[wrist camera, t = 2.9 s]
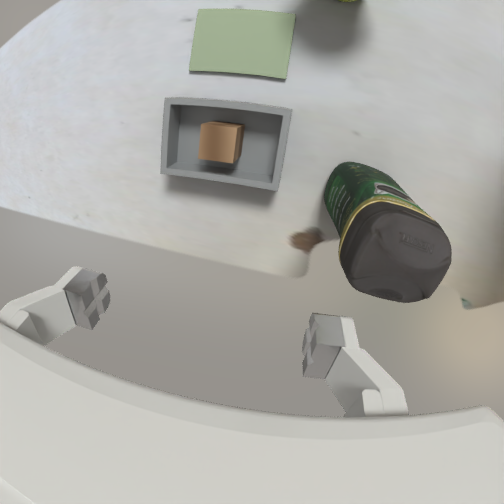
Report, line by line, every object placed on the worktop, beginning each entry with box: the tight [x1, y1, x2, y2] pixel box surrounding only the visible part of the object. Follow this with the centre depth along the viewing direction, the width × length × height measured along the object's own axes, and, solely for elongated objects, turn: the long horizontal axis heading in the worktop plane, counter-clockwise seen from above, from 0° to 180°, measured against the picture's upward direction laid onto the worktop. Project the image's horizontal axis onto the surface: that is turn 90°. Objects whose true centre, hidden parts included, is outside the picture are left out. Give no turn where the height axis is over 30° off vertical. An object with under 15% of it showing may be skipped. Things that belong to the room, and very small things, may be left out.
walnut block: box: [198, 121, 245, 163], centre depth 31 cm, size 4×4×5 cm
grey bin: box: [160, 97, 292, 191], centre depth 32 cm, size 15×10×4 cm, turn 82°
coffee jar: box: [324, 162, 451, 303], centre depth 27 cm, size 10×8×19 cm
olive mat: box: [189, 9, 296, 79], centre depth 27 cm, size 12×9×1 cm
